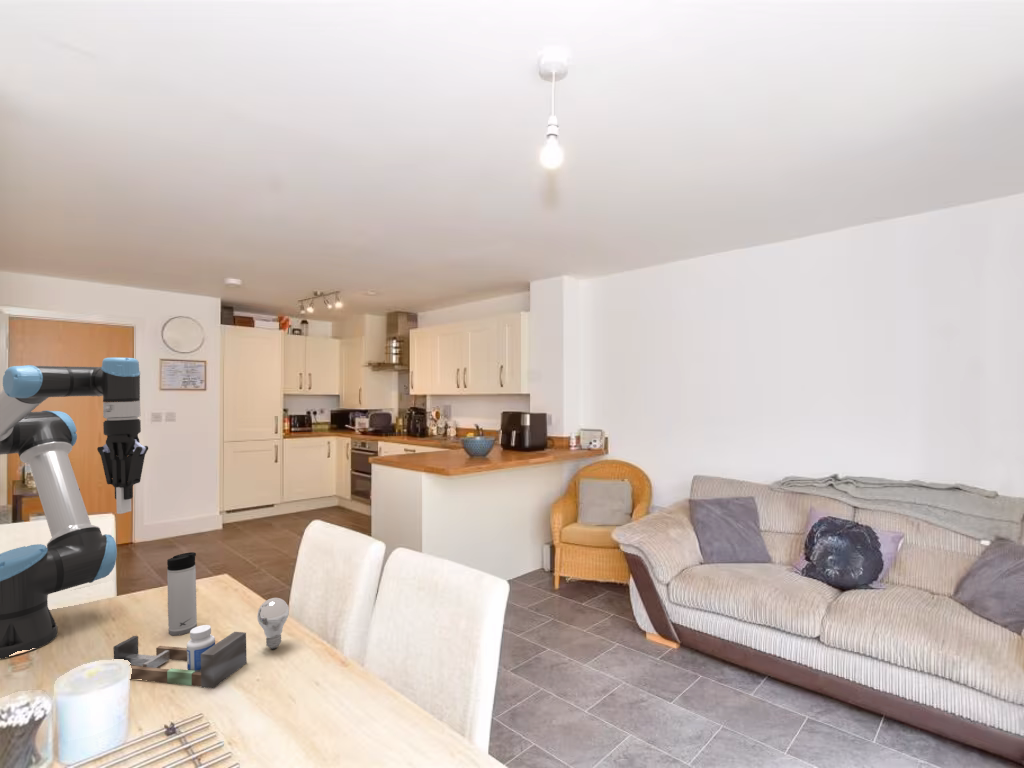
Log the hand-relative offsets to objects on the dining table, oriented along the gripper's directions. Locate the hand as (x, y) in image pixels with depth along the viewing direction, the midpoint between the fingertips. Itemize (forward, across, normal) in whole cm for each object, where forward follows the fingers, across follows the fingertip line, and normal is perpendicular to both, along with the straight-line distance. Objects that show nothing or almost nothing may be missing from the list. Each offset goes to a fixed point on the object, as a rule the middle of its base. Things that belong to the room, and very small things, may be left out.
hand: (124, 512), depth 131 cm
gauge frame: (+32, +26, -10) cm, 43 cm away
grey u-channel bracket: (+32, +15, -10) cm, 37 cm away
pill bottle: (+33, +31, -10) cm, 46 cm away
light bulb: (+33, +40, +2) cm, 52 cm away
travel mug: (+33, +10, +7) cm, 35 cm away
